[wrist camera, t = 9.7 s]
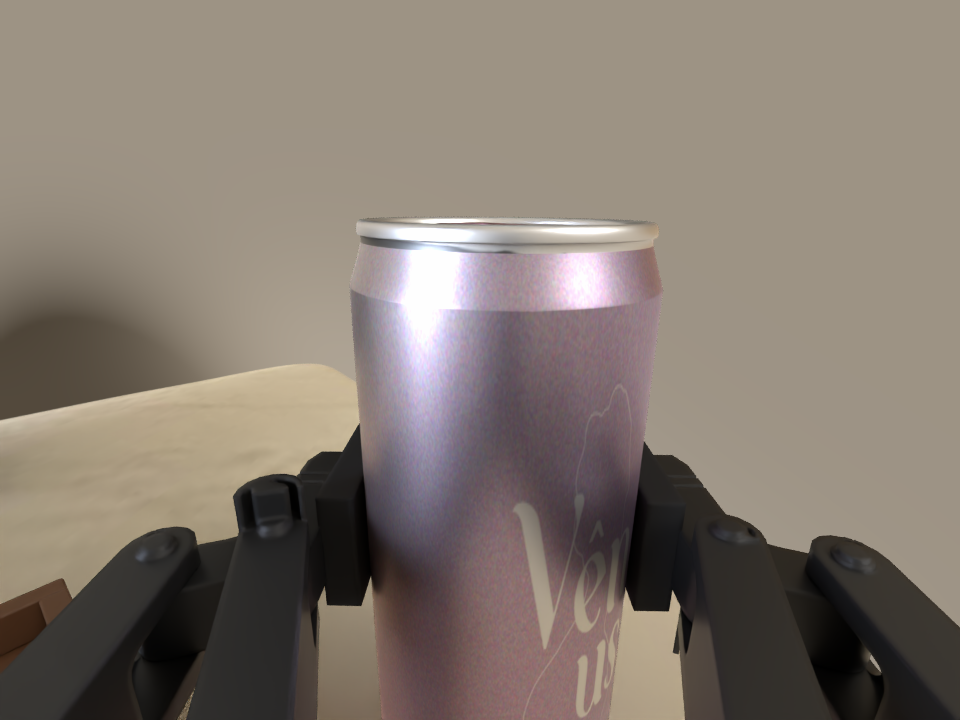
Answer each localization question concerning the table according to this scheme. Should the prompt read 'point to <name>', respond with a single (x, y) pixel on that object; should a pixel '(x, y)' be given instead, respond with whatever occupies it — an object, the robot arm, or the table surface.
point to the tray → (29, 618)
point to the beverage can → (501, 455)
